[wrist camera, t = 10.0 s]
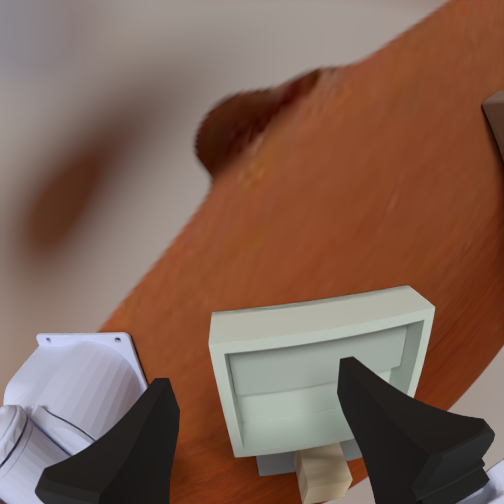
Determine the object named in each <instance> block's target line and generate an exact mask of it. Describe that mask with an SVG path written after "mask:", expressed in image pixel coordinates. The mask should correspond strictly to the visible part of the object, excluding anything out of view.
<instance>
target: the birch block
mask: <svg viewBox="0 0 504 504" xmlns="http://www.w3.org/2000/svg"><path fill="white" fill-rule="evenodd" d="M294 465H295V470H296V474H297V479H298V484H299V489H300V494H301V499H302V504H312V503H318V502H324V501H330V500H335V499H339V498H343V497H344V495H345V493H346V491H347V489H348V488H349V486H350V484H351V482H352V477H351V474H350V471H349V468H348V466H347V463H346V460H345V457H344V454H343V451H342V449H341V446H340V443H339V442H337V443H333V444H328V445H323V446H318V447H313V448H308V449H302V450H296V451H295V456H294Z"/></svg>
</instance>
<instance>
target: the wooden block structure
mask: <svg viewBox="0 0 504 504" xmlns="http://www.w3.org/2000/svg"><path fill="white" fill-rule="evenodd" d="M482 107H483V109H484V111H485V114H486V116H487V118H488V121H489V123H490V126H491V128H492V131H493V133H494V136H495V139H496V141H497V144H498V147H499V150H500V153H501V156H502V159H503V162H504V90H502V91H497V92H496V93H495V94H493V95H492V96H490V97H489V98H488V99H486V100H485V101H483V102H482Z"/></svg>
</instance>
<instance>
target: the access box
mask: <svg viewBox="0 0 504 504" xmlns="http://www.w3.org/2000/svg"><path fill="white" fill-rule="evenodd" d="M434 311H435V306H433V305H432V304H431V303H430V302H428V301H427V300H426V299H425V298H424V297H422V296H421V295H420V294H419V293H417V292H416V291H415V290H414V289H412V288H411V287H410V286H408V285H405V286H400V287H394V288H389V289H383V290H377V291H372V292H366V293H359V294H353V295H347V296H340V297H334V298H327V299H320V300H313V301H306V302H299V303H291V304H283V305H275V306H267V307H259V308H250V309H241V310H231V311H221V312H212V318H211V326H210V335H209V349H210V354H211V359H212V363H213V368H214V373H215V377H216V382H217V386H218V391H219V395H220V399H221V404H222V408H223V412H224V416H225V420H226V424H227V428H228V432H229V436H230V440H231V444H232V448H233V452H234V455H235V457H247V456H258V455H267V454H275V453H283V452H289V451H296V450H302V449H308V448H313V447H318V446H323V445H328V444H333V443H337V442H341V441H346V440H350V439H354V436H353V434H352V431H351V429H350V427H349V425H348V423H347V421H346V418H345V416H344V414H343V412H342V409H341V405H340V402H339V399H338V395H337V386H338V375H339V362H340V359H341V358H346V357H351V356H354V357H355V358H356V359H357V360H359V361H360V362H361V363H363V364H364V365H365V366H366V367H368V368H369V369H370V370H371V371H373V372H374V373H375V374H377V375H378V376H379V377H381V378H382V379H383V380H385V381H386V382H387V383H389V384H390V385H392V386H393V387H395V388H397V389H398V390H400V391H402V392H403V393H405V394H407V395H408V396H410V397H412V398H414V394H415V391H416V388H417V384H418V381H419V377H420V374H421V370H422V366H423V362H424V358H425V354H426V350H427V346H428V341H429V337H430V332H431V327H432V322H433V317H434Z"/></svg>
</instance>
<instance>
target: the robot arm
mask: <svg viewBox="0 0 504 504" xmlns="http://www.w3.org/2000/svg"><path fill="white" fill-rule="evenodd" d="M117 338H120V340H121V341H120V340H118V339H117ZM37 341H38V343H39V347H38V348H37V349H36V350H35V351H34V353H33V354H32V355H31V356H30V357H29V358H28V360H27V361H26V362H25V363H24V365H23V366H22V367H21V368H20V369H19V370H18V372H17V373H16V374H15V375H14V377H13V378H12V379H11V380H10V382H9V383H8V385H7V388H6V391H5V395H4V406H2V407H1V408H0V504H169V491H170V476H171V469H172V463H173V458H174V453H175V448H176V442H177V437H178V432H179V418H180V409H179V407H178V404H177V401H176V398H175V395H174V392H173V389H172V386H171V383H170V380H169V378H155V379H154V380H153V381H152V383H151V384H150V385H149V386H148V385H147V383H146V380H145V377H144V374H143V372H142V369H141V366H140V363H139V361H138V358H137V355H136V352H135V349H134V346H133V343H132V340H131V337H130V335H129V334H127V333H125V332H116V333H39V334H38V335H37ZM337 395H338V399H339V402H340V405H341V409H342V412H343V414H344V416H345V418H346V421H347V423H348V425H349V427H350V429H351V431H352V434H353V436H354V438H355V440H356V442H357V444H358V446H359V449H360V451H361V454H362V456H363V459H364V462H365V466H366V469H367V472H368V476H369V479H370V483H371V486H372V490H373V494H374V499H375V503H376V504H504V459H502V460H501V461H499V462H498V463H496V464H495V465H493V466H492V467H491V468H490V469H488V470H487V471H486V472H485V471H484V469H483V468H482V467H484V465H485V463H484V461H483V460H482V457H483V456H484V454H485V453H486V451H487V450H488V449H489V447H490V445H491V443H492V442H493V440H494V436H495V433H494V431H493V430H492V429H491V428H490V426H489V425H488V424H487V423H486V421H485V420H484V419H481V418H474V417H468V416H462V415H458V414H454V413H450V412H447V411H444V410H440V409H438V408H435V407H432V406H430V405H427V404H425V403H423V402H420V401H418V400H416V399H414V398H412V397H410V396H408V395H407V394H405V393H403V392H402V391H400V390H398V389H397V388H395V387H393V386H392V385H390V384H389V383H387V382H386V381H385V380H383V379H382V378H381V377H379V376H378V375H377V374H375V373H374V372H373V371H371V370H370V369H369V368H368V367H366V366H365V365H364V364H363V363H361V362H360V361H359V360H357V359H356V358H355V357H354V356H351V357H346V358H341V359H340V362H339V375H338V386H337Z"/></svg>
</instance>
